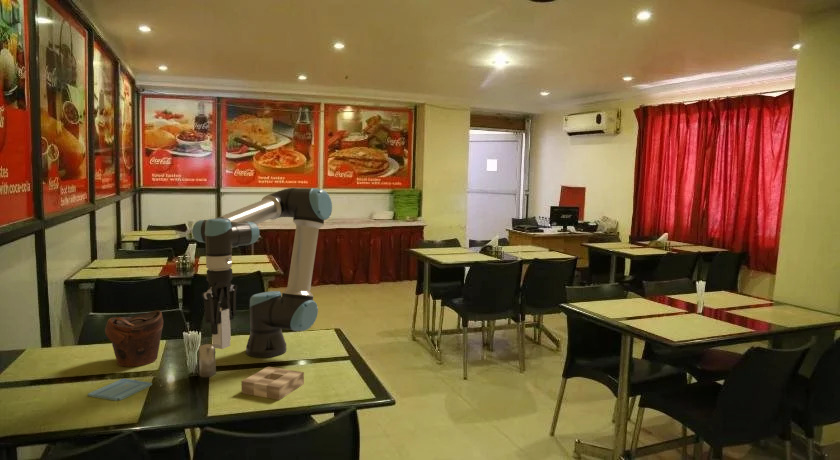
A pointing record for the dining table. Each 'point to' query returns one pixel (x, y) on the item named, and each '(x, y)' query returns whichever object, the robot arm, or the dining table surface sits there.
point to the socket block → (272, 383)
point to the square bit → (224, 328)
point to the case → (135, 338)
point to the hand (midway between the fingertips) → (221, 341)
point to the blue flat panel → (120, 389)
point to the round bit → (207, 360)
